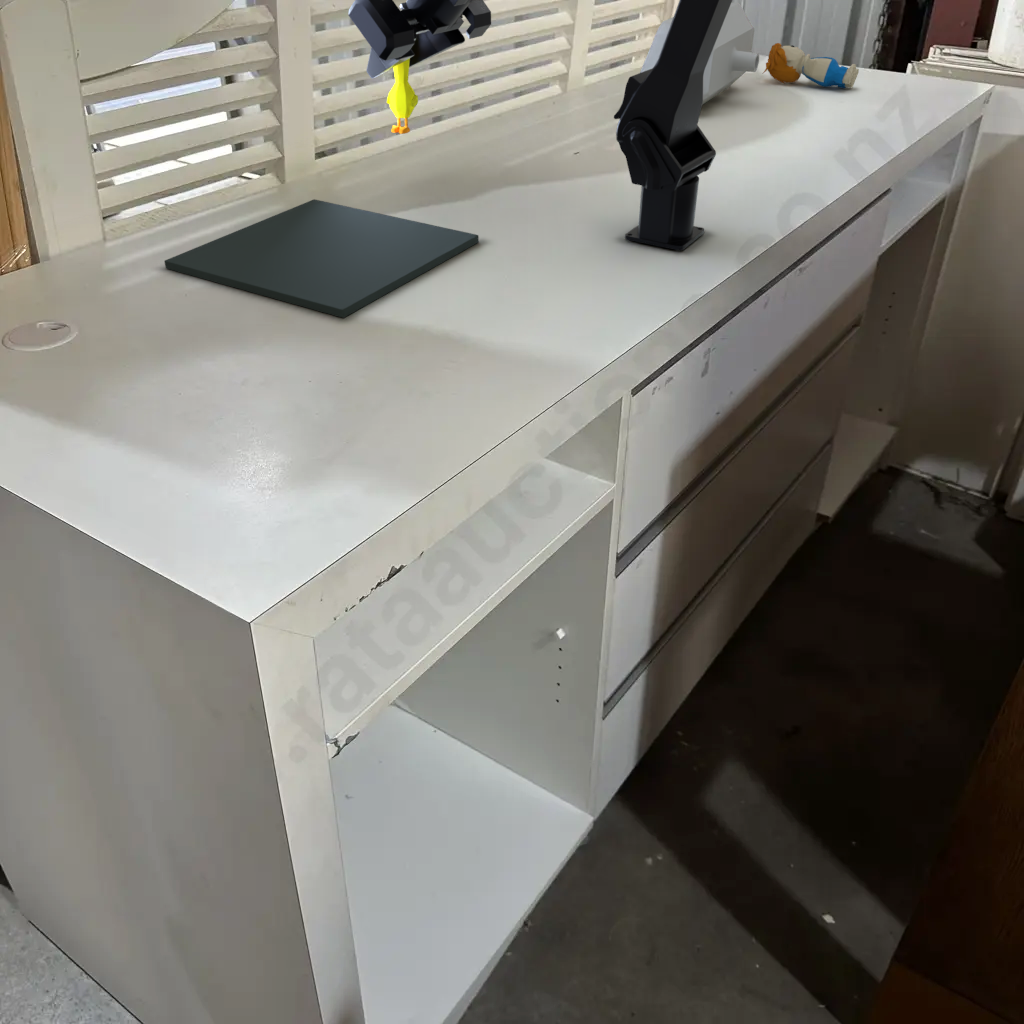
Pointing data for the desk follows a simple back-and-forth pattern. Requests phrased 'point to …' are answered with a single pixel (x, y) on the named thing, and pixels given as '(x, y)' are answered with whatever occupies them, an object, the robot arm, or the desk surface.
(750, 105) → the desk surface
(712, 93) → the tank
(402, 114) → the toy figure
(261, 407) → the desk surface
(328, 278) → the mat
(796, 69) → the toy
